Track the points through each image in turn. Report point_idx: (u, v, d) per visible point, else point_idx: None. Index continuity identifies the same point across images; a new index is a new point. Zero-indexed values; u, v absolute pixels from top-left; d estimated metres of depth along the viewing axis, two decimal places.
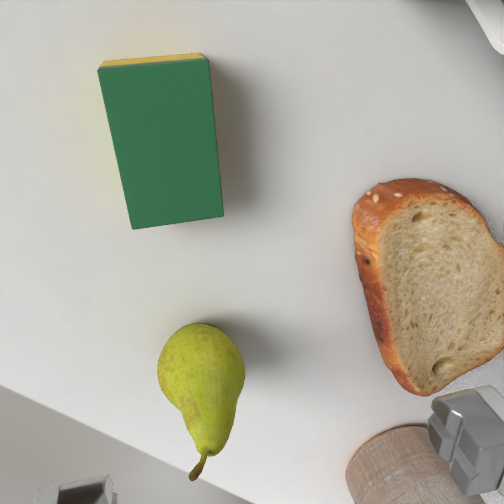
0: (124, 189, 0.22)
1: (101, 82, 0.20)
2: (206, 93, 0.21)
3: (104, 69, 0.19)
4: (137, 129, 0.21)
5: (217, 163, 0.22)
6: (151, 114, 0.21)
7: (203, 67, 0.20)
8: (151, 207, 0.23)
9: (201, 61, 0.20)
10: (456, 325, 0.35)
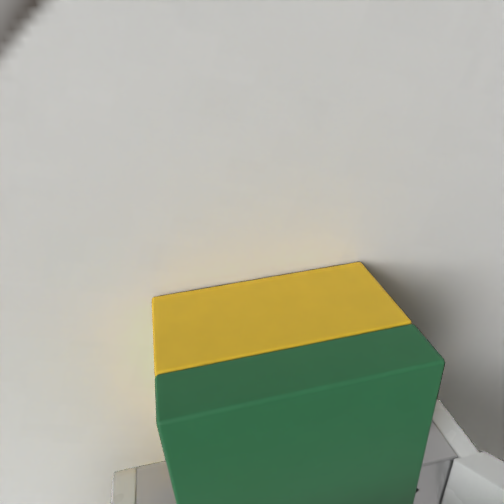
0: None
1: (166, 445, 0.07)
2: (421, 420, 0.08)
3: (176, 418, 0.07)
4: None
5: None
6: (284, 477, 0.08)
7: (430, 376, 0.08)
8: None
9: (428, 365, 0.08)
10: None
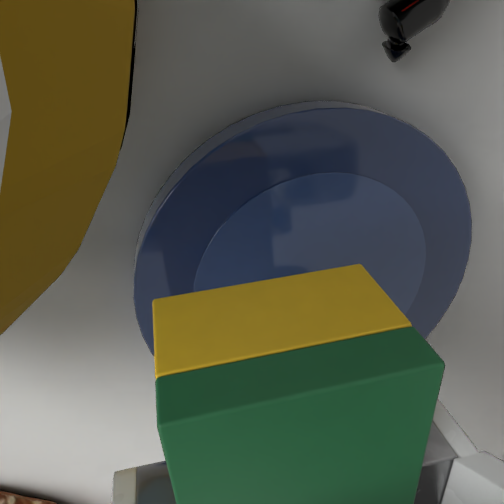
0: None
1: (167, 448, 0.07)
2: (421, 422, 0.08)
3: (177, 420, 0.07)
4: None
5: None
6: (284, 479, 0.08)
7: (430, 379, 0.08)
8: None
9: (428, 368, 0.08)
10: None
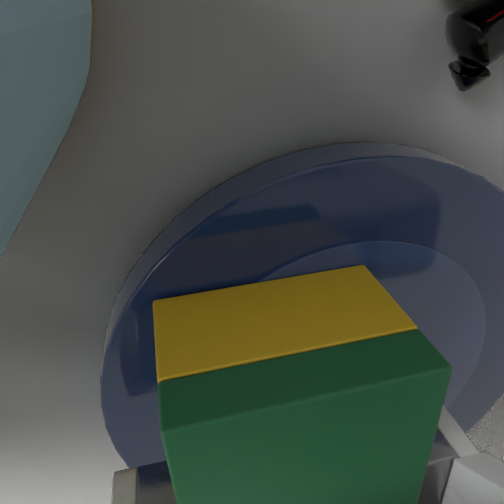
0: None
1: (170, 455, 0.07)
2: (426, 427, 0.08)
3: (180, 427, 0.07)
4: None
5: None
6: (288, 484, 0.08)
7: (437, 383, 0.08)
8: None
9: (435, 372, 0.07)
10: None
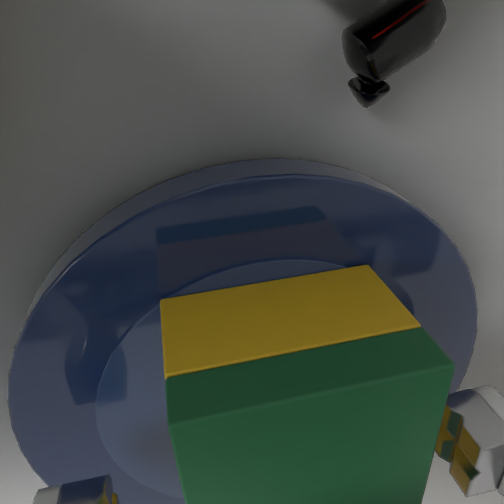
0: None
1: (177, 448, 0.07)
2: (430, 424, 0.08)
3: (187, 421, 0.07)
4: None
5: None
6: (293, 480, 0.08)
7: (440, 380, 0.08)
8: None
9: (438, 369, 0.08)
10: None
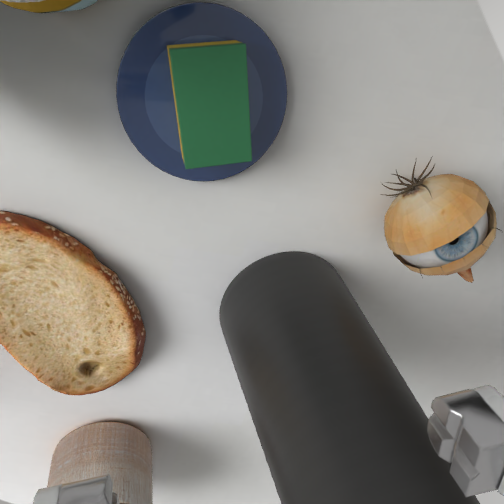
0: (182, 138, 0.31)
1: (172, 58, 0.28)
2: (243, 67, 0.29)
3: (174, 49, 0.28)
4: (194, 93, 0.29)
5: (249, 120, 0.31)
6: (204, 82, 0.29)
7: (242, 49, 0.29)
8: (200, 152, 0.31)
9: (241, 44, 0.29)
10: (81, 333, 0.40)
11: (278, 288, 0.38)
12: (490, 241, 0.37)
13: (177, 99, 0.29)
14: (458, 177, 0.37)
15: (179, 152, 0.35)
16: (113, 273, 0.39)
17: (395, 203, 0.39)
